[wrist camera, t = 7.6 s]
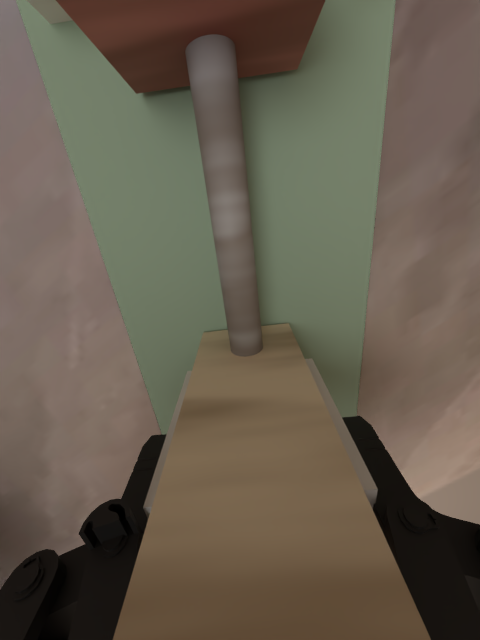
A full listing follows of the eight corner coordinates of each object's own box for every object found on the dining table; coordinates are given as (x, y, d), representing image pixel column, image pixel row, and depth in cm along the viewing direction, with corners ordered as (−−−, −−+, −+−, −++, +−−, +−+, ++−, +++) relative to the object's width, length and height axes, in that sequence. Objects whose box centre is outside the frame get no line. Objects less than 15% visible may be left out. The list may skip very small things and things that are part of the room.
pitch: (351, 451, 19) (352, 455, 19) (175, 466, 20) (174, 470, 20) (425, -381, 7) (433, -407, 6) (-70, -270, 7) (-81, -288, 7)
